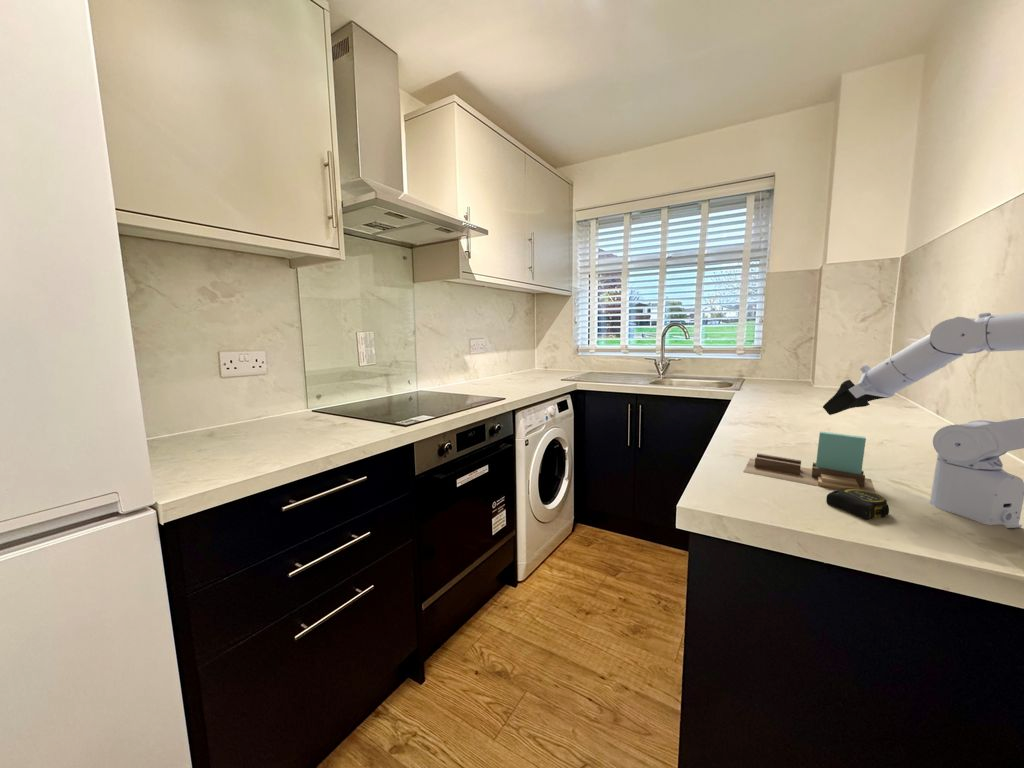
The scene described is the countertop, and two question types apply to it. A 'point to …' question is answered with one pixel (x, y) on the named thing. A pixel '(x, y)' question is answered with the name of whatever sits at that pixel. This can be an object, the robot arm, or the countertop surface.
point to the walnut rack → (799, 471)
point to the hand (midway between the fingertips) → (836, 407)
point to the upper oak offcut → (839, 480)
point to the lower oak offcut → (833, 485)
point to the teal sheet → (840, 452)
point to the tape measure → (859, 503)
